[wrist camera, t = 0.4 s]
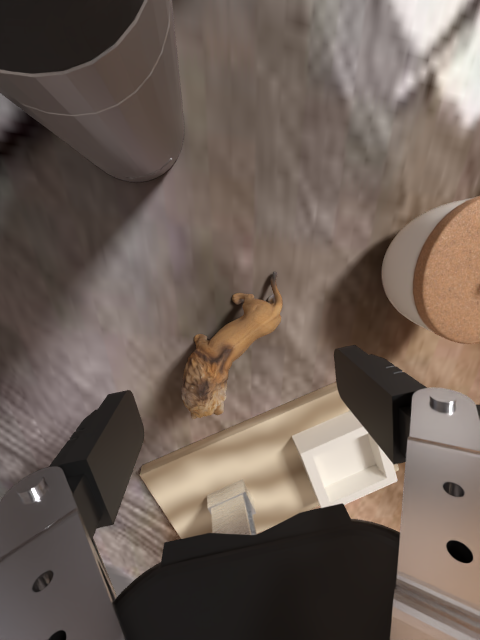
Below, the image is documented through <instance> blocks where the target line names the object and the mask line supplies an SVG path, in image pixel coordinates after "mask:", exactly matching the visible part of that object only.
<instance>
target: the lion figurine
mask: <svg viewBox="0 0 480 640" xmlns="http://www.w3.org/2000/svg"><path fill="white" fill-rule="evenodd" d="M276 277H277V273H276V272H275V271H274V272H273V274H272V275H271V279H270V281H271V287H272V290H273V293H274V295H271V296H270V297H269V298H268V302H266V301H264V300H259V299H254V296H253V295H252V294H243V293H236V294H234V295H233V296H232V301H233V302H234V303H235V304H237V305H238V304H240V303H242V302H243V301H244V303H243V310H244V315H243V316H242V317H240V318H239V319H236V320H234V321H232V322H230V323H228V324H227V325H225V326H224V327H223V328H222V329H220V330H219V331H218V332H217V333H216V334H215V335H214V336H213V338H212V339H211V340H207V336H205V335H203V334H198V335H196V336H195V337H194V341H195V343H196V350H195V351H194V352H193V353H192V354H191V355H190V357H188V360H187V363H186V367H185V369H184V375H183V385H182V388H181V390H182V399H183V402H184V405H185V406H186V407H187V408H188V410H189V411H190V412H191V417H192V419H195V418H197V417H199V418H201V417H203V416H208V415H212V414H213V413H214V414H215V415H220V414H222V413H223V411H224V409H223V407H224V404H223V401H224V400H225V399H226V395H225V392H226V389H227V380H228V371H229V369H230V367H231V365H232V362H233V361H235V360H236V359H237V358H238V357H240V356H241V355H242V354H243V353H244V352H245V351H246V350H247V349H248V347H249V346H250V345H251V344H252V343H253V342H254V341H255V340H256V339H258V338H260V337H262V336H265V335H267V334H269V333H271V332H273V331H274V330H275V329H276V327H277V326H278V325H279V323H280V322H281V316H280V312H281V309H282V297H281V295H280V293H279V291H278V289H277V285H276Z"/></svg>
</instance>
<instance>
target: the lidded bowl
mask: <svg viewBox="0 0 480 640" xmlns="http://www.w3.org/2000/svg"><path fill="white" fill-rule="evenodd" d="M382 283H383V287H384V290H385V293H386V295H387V297H388V299H389V301H390V302H391V303H392V305H393V306H394V307H395V308H396V309H397V311H398V312H400V313H401V314H402V315H403V316H405V317H406V318H407V319H409V320H410V321H412V322H413V323H415V324H417V325H419V326H421V327H423V328H425V329H427V330H430V331H432V332H434V333H435V334H437V335H439V336H441V337H444V338H446V339H448V340H451V341H454V342H458V343H464V344H474V343H480V196H477V197H475V198H470V199H465V200H460V201H455V202H451V203H448V204H445V205H442V206H439V207H437V208H434V209H432V210H429V211H427V212H425V213H423V214H421V215H420V216H418V217H416V218H415V219H413V220H412V221H411V222H409V223H408V224H407V225H406V226H404V227H403V228H402V230H401V231H400V232H399V233H398V234H397V235H396V236H395V238H394V239H393V240H392V242H391V243H390V245H389V247H388V249H387V251H386V254H385V256H384V260H383V264H382Z"/></svg>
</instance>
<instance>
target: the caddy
mask: <svg viewBox="0 0 480 640" xmlns="http://www.w3.org/2000/svg"><path fill="white" fill-rule="evenodd" d="M292 438H293V441H294V443H295V446H296V448H297V451H298V454H299V456H300V459H301V461H302V464H303V466H304V469H305V471H306V474H307V476H308V479H309V481H310V484H311V487H312V489H313V492H314V494H315V496H316V498H317V500H318V503H319V505H320V507H321V508H323V507H328V506H332V505H337V504H341V503H343V504H344V505H345V504H347V503H350V502H352V501H354V500H356V499H359V498H361V497H363V496H365V495H367V494H370V493H372V492H374V491H376V490H379V489H381V488H383V487H385V486H388V485H390V484H392V483H394V482H396V481H397V477H396V473H395V469H394V465H393V463H392V462H391V461H390V459H389V458H388V457H387V456H386V454H385V453H384V452H383V451H382V449H381V448H380V447H379V446H378V444H377V443H376V442H375V441H374V439H373V438H372V437H371V436H370V434H369V433H368V432H367V431H366V429H365V428H364V427H363V426H362V424H361V423H360V422H359V421H358V419H357V418H356V417H355V416H354V415H353V413H352V412H351V411H348V412H346V413H343V414H341V415H339V416H337V417H334V418H332V419H330V420H327V421H325V422H323V423H320V424H318V425H316V426H314V427H311V428H309V429H307V430H304V431H302V432H300V433H297V434H295V435H293V436H292Z"/></svg>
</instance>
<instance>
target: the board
mask: <svg viewBox="0 0 480 640" xmlns="http://www.w3.org/2000/svg"><path fill="white" fill-rule="evenodd" d="M348 411H350V410H349V408H348V407H347V406H346V405H345V403H344V402H343V401H342V399H341V397H340V395H339V393H338V389H337V383H336V382H335V383H332V384H330V385H328V386H325V387H323V388H321V389H318V390H316V391H314V392H311V393H309V394H307V395H304V396H302V397H300V398H297V399H295V400H293V401H291V402H288V403H286V404H284V405H281V406H279V407H277V408H274V409H272V410H270V411H267V412H265V413H263V414H260V415H258V416H256V417H253V418H251V419H249V420H246V421H244V422H242V423H239V424H237V425H235V426H232V427H230V428H228V429H225V430H223V431H221V432H218V433H216V434H214V435H211V436H209V437H207V438H204V439H202V440H200V441H198V442H195V443H193V444H191V445H188V446H186V447H184V448H181V449H179V450H177V451H174V452H172V453H170V454H167V455H165V456H163V457H160V458H158V459H156V460H153V461H151V462H149V463H146V464H144V465H142V468H141V472H140V477H141V478H142V480H143V481H144V483H145V484H146V486H147V487H148V489H149V490H150V492H151V493H152V495H153V497H154V498H155V500H156V501H157V503H158V504H159V506H160V507H161V509H162V510H163V512H164V513H165V515H166V516H167V518H168V519H169V521H170V522H171V524H172V526H173V527H174V529H175V530H176V532H177V533H178V535H179V536H180V538H181V539H184V538H188V537H193V536H197V535H202V534H206V533H212V515H211V513H210V512H209V510H208V506H207V495H208V494H211V493H213V492H215V491H217V490H220V489H222V488H224V487H227V486H229V485H231V484H233V483H236V482H238V481H240V480H242V479H243V481H244V483H245V485H246V487H247V489H248V491H249V493H250V495H251V497H252V499H253V501H254V506H255V510H256V514H254V515H253V517H254V522H255V527H256V531H257V533H259V532H261V531H264V530H266V529H268V528H270V527H272V526H275V525H277V524H279V523H281V522H283V521H285V520H287V519H289V518H291V517H293V516H294V515H296V514H298V513H301V512H305V511H308V510H311V509H313V508H315V507H317V506H319V503H318V500H317V498H316V496H315V494H314V492H313V489H312V487H311V484H310V481H309V479H308V476H307V474H306V471H305V469H304V466H303V464H302V461H301V459H300V456H299V454H298V451H297V448H296V446H295V443H294V441H293V438H292V436H293V435H295V434H297V433H300V432H302V431H304V430H307V429H309V428H311V427H314V426H316V425H318V424H320V423H323V422H325V421H327V420H330V419H332V418H334V417H337V416H339V415H341V414H343V413H346V412H348ZM393 465H394V469H395V472H396V471H398V470H399V468H398V464H393Z"/></svg>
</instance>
